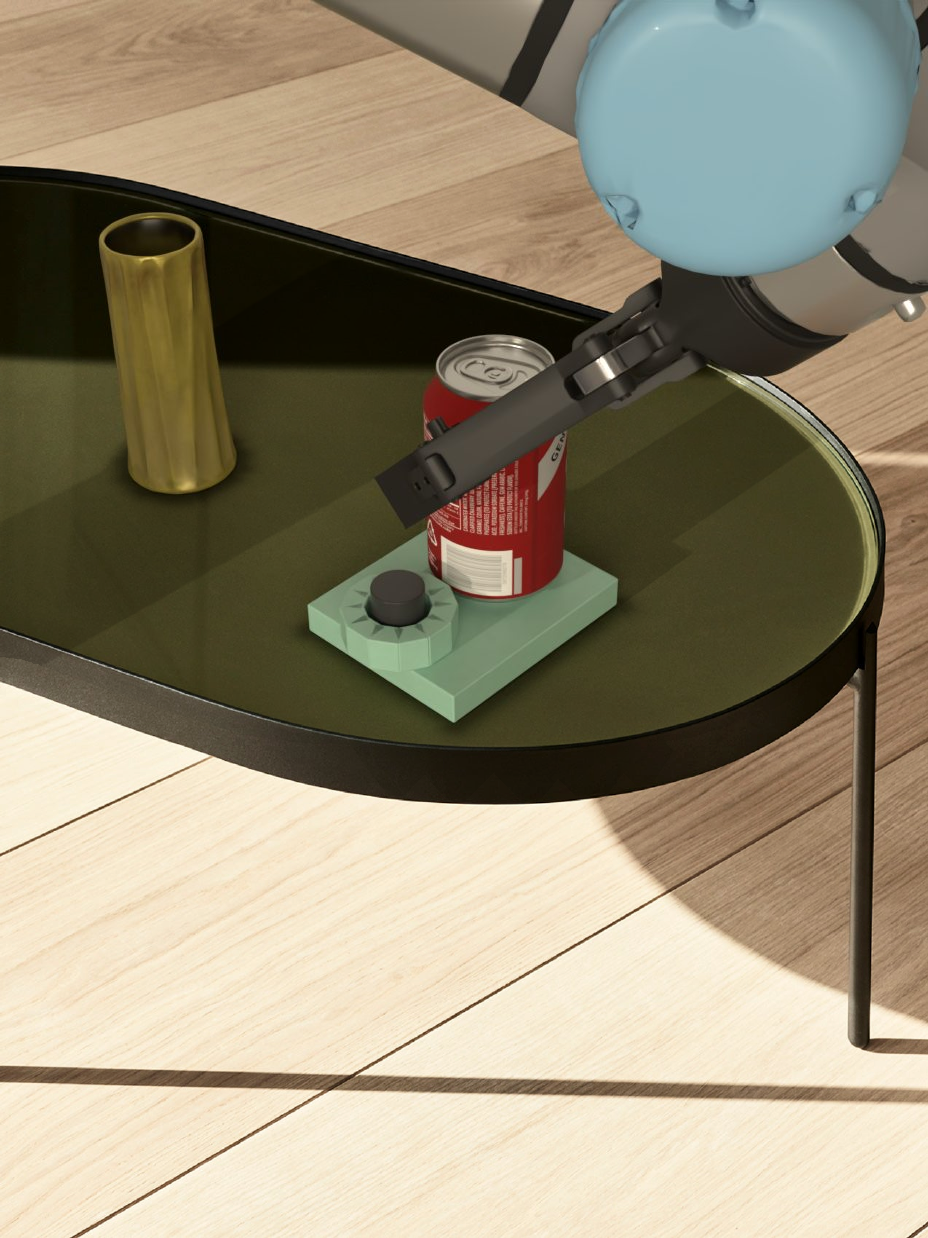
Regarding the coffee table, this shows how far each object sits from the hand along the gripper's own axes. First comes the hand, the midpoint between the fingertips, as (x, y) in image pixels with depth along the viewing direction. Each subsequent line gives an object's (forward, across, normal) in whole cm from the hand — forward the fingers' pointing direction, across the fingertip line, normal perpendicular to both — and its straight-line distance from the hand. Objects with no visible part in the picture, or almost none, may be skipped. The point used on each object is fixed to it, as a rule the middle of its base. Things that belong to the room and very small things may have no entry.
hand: (497, 437), depth 79 cm
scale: (+7, -2, -7) cm, 10 cm away
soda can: (+6, 0, -6) cm, 8 cm away
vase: (+22, -3, +8) cm, 24 cm away
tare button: (+5, -7, -5) cm, 9 cm away
